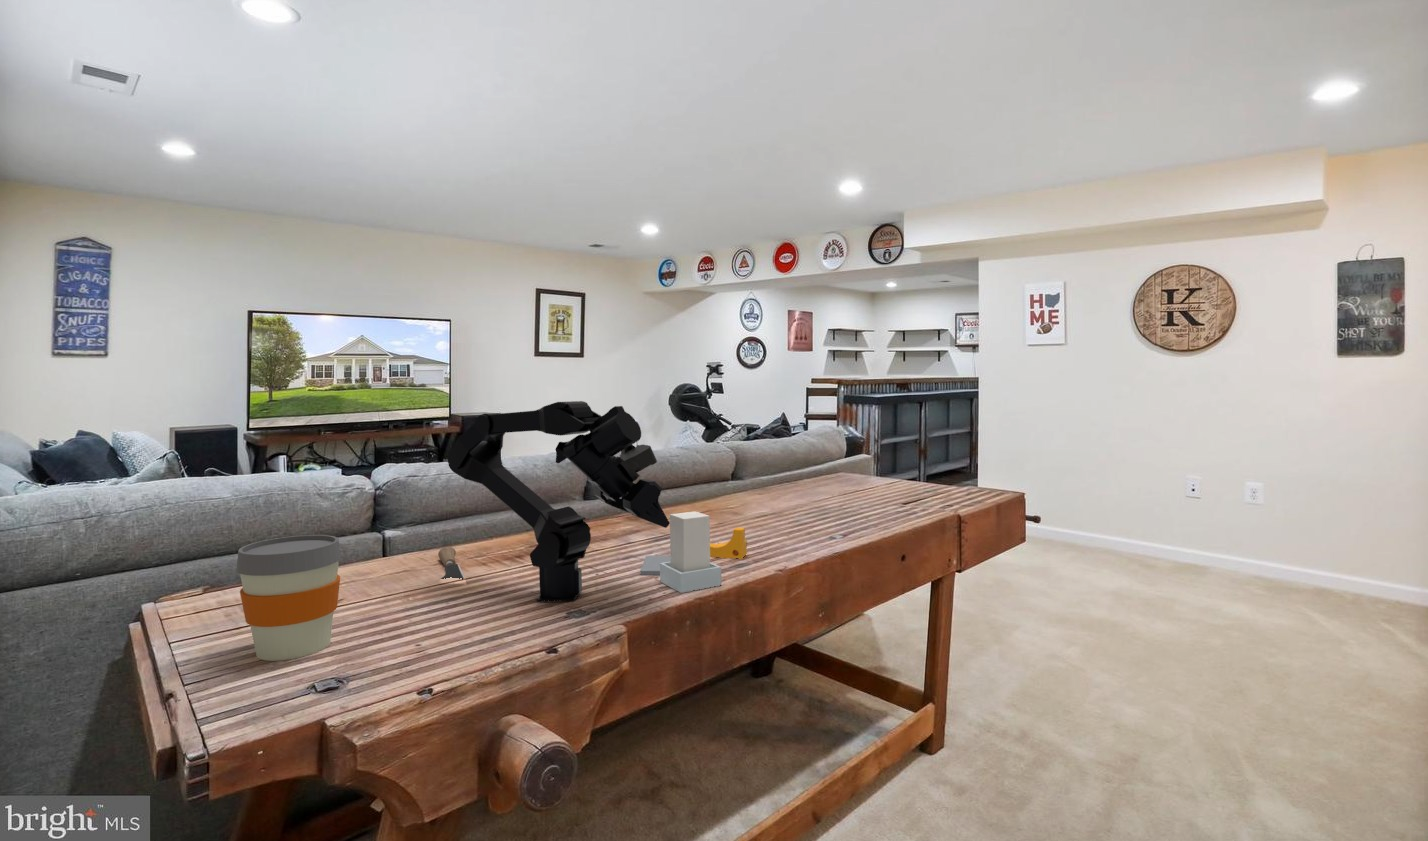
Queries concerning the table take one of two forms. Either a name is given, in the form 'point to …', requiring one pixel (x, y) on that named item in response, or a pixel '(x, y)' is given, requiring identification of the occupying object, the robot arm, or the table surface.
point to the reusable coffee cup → (290, 594)
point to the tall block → (689, 541)
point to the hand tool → (450, 563)
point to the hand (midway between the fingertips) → (656, 520)
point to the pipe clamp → (731, 546)
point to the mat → (653, 564)
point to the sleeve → (690, 578)
